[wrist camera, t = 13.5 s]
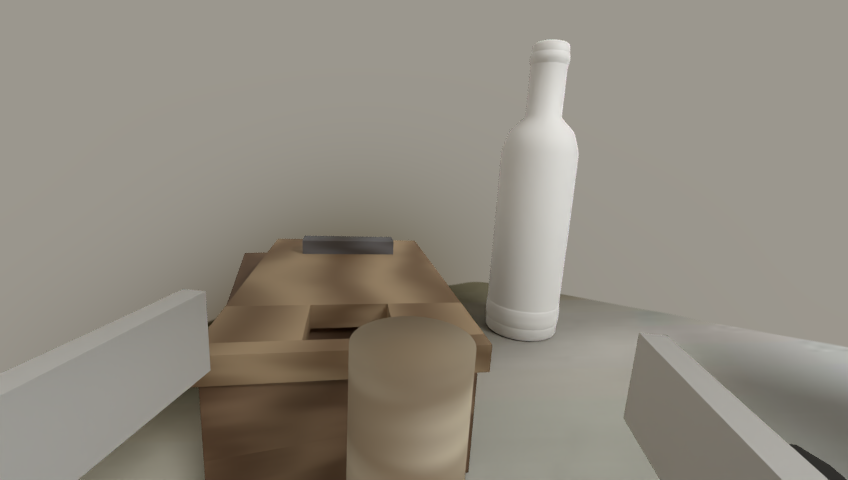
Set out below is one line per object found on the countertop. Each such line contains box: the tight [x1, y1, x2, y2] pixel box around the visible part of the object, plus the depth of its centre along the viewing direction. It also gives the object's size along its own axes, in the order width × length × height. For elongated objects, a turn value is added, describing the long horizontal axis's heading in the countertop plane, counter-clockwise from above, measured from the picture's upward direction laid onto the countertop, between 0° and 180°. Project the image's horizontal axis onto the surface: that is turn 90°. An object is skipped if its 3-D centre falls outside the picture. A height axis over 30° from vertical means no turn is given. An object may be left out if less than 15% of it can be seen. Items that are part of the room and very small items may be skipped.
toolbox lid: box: [191, 236, 492, 387], centre depth 30 cm, size 14×24×3 cm, turn 11°
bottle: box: [486, 39, 579, 341], centre depth 43 cm, size 8×8×30 cm
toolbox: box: [199, 253, 477, 480], centre depth 32 cm, size 14×24×8 cm, turn 19°
